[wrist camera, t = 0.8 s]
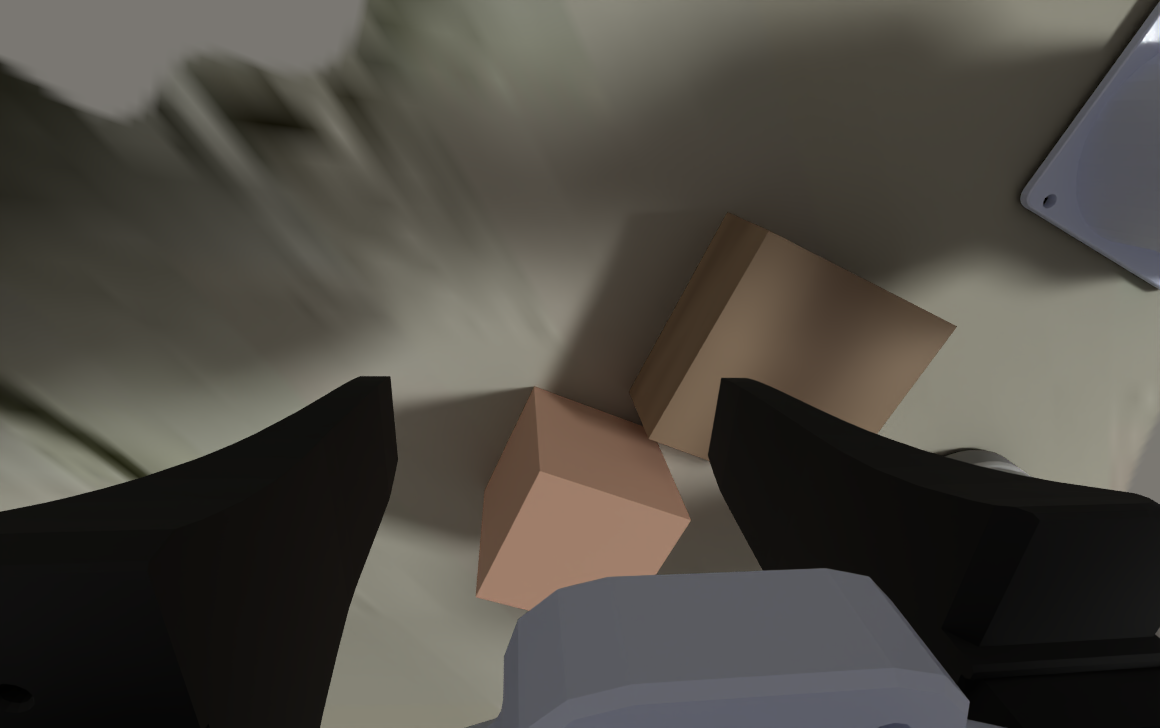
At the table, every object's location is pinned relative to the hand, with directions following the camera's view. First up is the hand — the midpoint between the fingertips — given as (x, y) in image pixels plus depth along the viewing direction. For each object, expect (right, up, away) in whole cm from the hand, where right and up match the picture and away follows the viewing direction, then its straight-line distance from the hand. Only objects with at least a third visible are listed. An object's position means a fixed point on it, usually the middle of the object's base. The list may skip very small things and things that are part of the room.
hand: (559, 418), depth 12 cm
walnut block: (+8, +2, +11) cm, 14 cm away
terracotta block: (0, -3, +12) cm, 12 cm away
